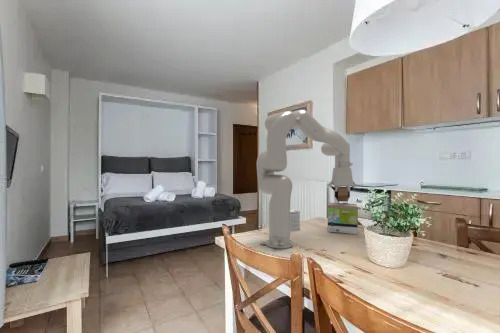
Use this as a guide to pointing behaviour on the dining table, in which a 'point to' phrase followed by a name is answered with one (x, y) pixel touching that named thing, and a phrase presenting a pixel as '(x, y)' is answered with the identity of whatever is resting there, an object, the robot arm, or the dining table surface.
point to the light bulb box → (294, 219)
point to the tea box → (343, 218)
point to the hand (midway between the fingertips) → (342, 198)
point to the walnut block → (342, 194)
